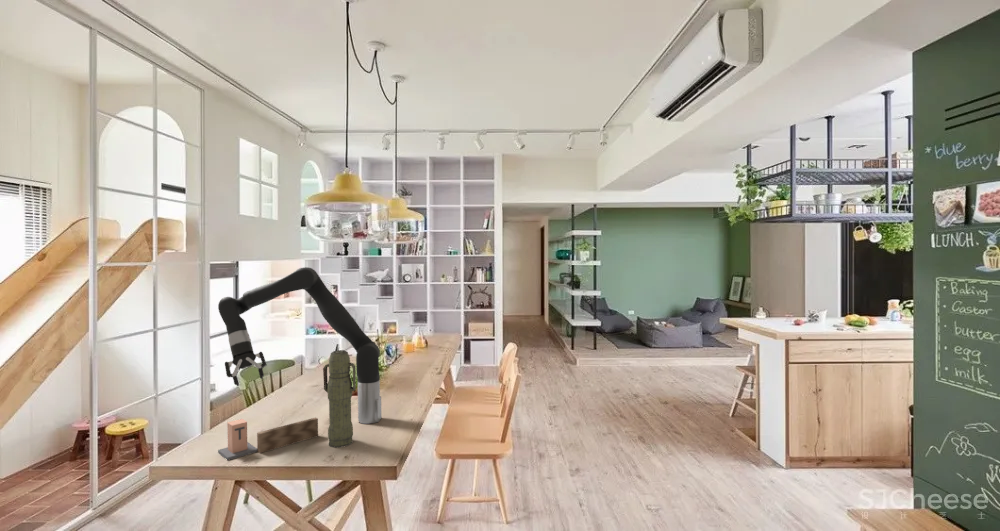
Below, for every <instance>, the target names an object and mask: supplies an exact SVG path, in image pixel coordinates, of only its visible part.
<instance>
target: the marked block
mask: <svg viewBox="0 0 1000 531" xmlns="http://www.w3.org/2000/svg"><path fill="white" fill-rule="evenodd" d="M226 427H227V447H228V450H229V451H230V452H231V453H236V452H239V451H243V450H246V449H248V448H247V442H248V421H246V420H245V419H243V418H240V419H235V420H232V421H227V424H226Z"/></svg>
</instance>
